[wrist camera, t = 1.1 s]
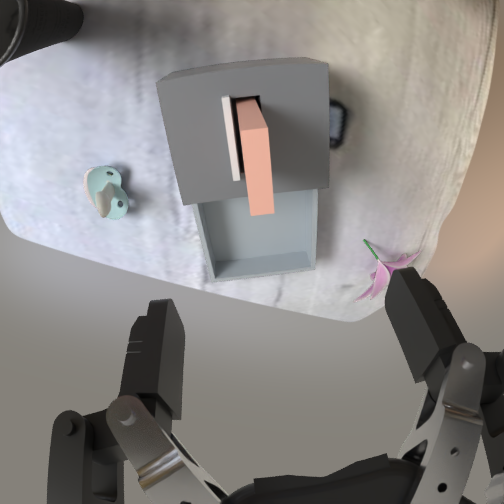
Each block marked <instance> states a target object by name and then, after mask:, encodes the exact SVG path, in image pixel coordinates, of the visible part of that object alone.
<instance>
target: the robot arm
mask: <svg viewBox="0 0 504 504" xmlns="http://www.w3.org/2000/svg"><path fill="white" fill-rule="evenodd" d="M385 309H386V312H387V315H388V317H389V319H390V321H391V324H392V326H393V328H394V331H395V333H396V335H397V338H398V340H399V343H400V345H401V347H402V350H403V352H404V355H405V357H406V360H407V362H408V365H409V368H410V370H411V373H412V375H413V378H414V381H415V383H419V382H421V381H426V384H427V387H426V389H425V392H424V395H423V398H422V401H421V404H420V407H419V410H418V413H417V416H416V419H415V422H414V425H413V427H412V430H411V432H410V434H409V436H408V437H407V438H406V440H405V442H404V443H403V445H402V447H401V449H400V451H399V454H398V456H397V458H388V456H387V453H386V454H382V455H379V456H376V457H372V458H368V459H365V460H361V461H357V462H355V463H353V464H351V465H349V466H347V467H345V468H343V469H341V470H339V471H337V472H334V473H332V474H330V475H328V476H325V477H307V476H294V475H284V476H275V477H267V478H255V479H254V483H252V484H248V485H246V486H244V487H242V488H240V489H238V490H237V491H235V492H233V493H232V494H231V495H228V494H227V493H226V491H225V490H224V489H223V488H222V487H221V486H220V485H219V484H218V483H217V482H216V481H215V480H214V479H213V478H212V477H211V476H210V475H209V474H208V473H207V472H206V471H205V470H204V469H203V468H202V467H201V466H200V465H199V464H198V463H197V462H196V460H195V459H194V458H193V457H192V456H191V454H190V453H189V452H188V451H187V449H186V448H185V447H184V446H183V445H182V443H181V442H180V441H179V440H178V438H177V437H176V436H175V435H174V433H173V432H172V431H171V430H172V420H181V410H182V409H181V408H182V384H183V364H184V349H185V332H184V327H183V324H182V321H181V319H180V317H179V314H178V312H177V310H176V307H175V305H174V302H173V301H172V299H162V300H152V301H150V303H149V307H148V312H147V316H139V317H138V318H137V320H136V322H135V323H134V325H133V326H132V328H131V332H130V337H129V344H128V347H127V354H126V358H125V363H124V369H123V375H122V381H121V387H120V392H119V395H118V397H117V398H116V399H115V400H113V401H112V402H111V404H110V405H109V406H108V408H107V409H105V410H103V411H99V412H96V413H92V414H88V415H85V416H81V415H80V414H79V413H77V412H75V411H72V410H69V411H64V412H62V413H61V414H60V415H58V417H57V418H56V419H55V421H54V424H53V429H52V437H51V446H50V456H49V468H48V485H47V504H124V466H123V465H124V461H125V460H129V461H130V462H131V464H132V465H133V467H134V469H135V470H136V472H137V473H138V476H139V479H138V482H139V484H140V486H141V488H142V489H143V491H144V493H145V494H146V495H147V497H148V498H149V499H150V501H151V502H152V503H153V504H476V503H474V502H472V501H471V500H469V499H467V498H466V497H464V496H463V495H462V494H463V491H464V488H465V486H466V483H467V480H468V477H469V474H470V471H471V468H472V464H473V461H474V458H475V454H476V451H477V447H478V443H479V440H480V435H482V439H483V443H484V446H485V451H486V455H487V459H488V463H489V468H490V473H491V478H492V479H491V481H490V483H489V486H488V487H487V488H486V489H485V492H484V495H485V497H486V498H487V503H486V504H504V395H503V394H504V349H503V351H502V352H482V350H481V349H480V348H479V347H478V346H476V345H474V344H472V343H467V341H466V340H465V338H464V336H463V334H462V332H461V331H460V329H459V327H458V325H457V323H456V321H455V319H454V318H453V316H452V314H451V312H450V310H449V309H447V305H446V304H445V302H444V300H442V297H441V295H440V293H439V291H438V290H437V288H436V287H435V286H434V285H433V284H432V283H430V282H429V281H428V280H427V279H426V278H425V279H421V277H420V276H419V274H418V272H417V271H416V269H415V268H414V267H407V268H401V269H395V270H394V271H393V272H392V275H391V279H390V282H389V286H388V289H387V292H386V296H385Z"/></svg>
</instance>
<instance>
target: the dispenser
mask: <svg viewBox="0 0 504 504" xmlns="http://www.w3.org/2000/svg"><path fill="white" fill-rule="evenodd" d="M156 87H157V92H158V97H159V102H160V107H161V111H162V116H163V121H164V126H165V130H166V135H167V139H168V144H169V148H170V153H171V157H172V161H173V166H174V170H175V174H176V178H177V182H178V186H179V190H180V194H181V198H182V202H183V206H184V205H190V204H197V203H204V202H211V201H218V200H225V199H233V198H241V197H248V191H247V184H246V176H245V169H244V161H243V154H242V146H241V138H240V130H239V122H238V114H237V106H236V98H238V97H247V96H254V98H255V100H256V103H257V105H258V107H259V109H260V111H261V113H262V116H263V118H264V120H265V122H266V125H267V127H268V135H269V147H270V159H271V172H272V185H273V194H274V193H283V192H292V191H302V190H312V189H323V188H329V145H330V120H329V76H328V64H327V63H324V62H321V61H317V60H313V59H310V58H306V57H300V58H277V59H263V60H251V61H241V62H233V63H225V64H218V65H211V66H204V67H198V68H193V69H187V70H182V71H177V72H172V73H170V74H169V75H167V76H166V77H164V78H162V79H161V80H159V81H158V82H156Z"/></svg>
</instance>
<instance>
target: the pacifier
mask: <svg viewBox="0 0 504 504" xmlns="http://www.w3.org/2000/svg"><path fill="white" fill-rule="evenodd" d="M108 171H110V172H112V173H113V175H112V174H108V173H107V172H108ZM121 180H122V179H121V175H120V173H119V172H118V171H117V170H116V169H115V168H113V167H110V166H99V167H96V168H90V169H88V170H87V171H86V173H85V175H84V181H83V184H84V190H85V193H86V196H87V198H88V200H89V201H90V202H91V204H92V205H93V206H94V207H95V208H97V209H98V211H99V214H100V215H101V217H103V218H104V217H106V218H109V219H112V220H116V219H120V218H122V217H123V216H124V215H125V213H126V212H127V209H128V204H129V201H128V197H127V194H126V193H125V191H124V190H123V189H122V188H121ZM118 201H122V202H123V207H120V206H119V205H118Z"/></svg>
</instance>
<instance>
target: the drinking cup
mask: <svg viewBox="0 0 504 504" xmlns="http://www.w3.org/2000/svg"><path fill="white" fill-rule="evenodd" d="M82 23H83V11H82V9H81V8H80V7H79V6H78V5H77V4H74V3H71V2H68V1H65V0H0V67H2V66H3V65H4V64H5V63H7V62H9V61H11V60H14V59H16V58H18V57H21V56H23V55H26V54H28V53H31V52H34V51H37V50H39V49H42V48H45V47H48V46H51V45H54V44H57V43H60V42H63V41H67V40H69V39H71V38H72V37H73V36H75V35H76V34H77V32H78V31H79V30H80V28H81V26H82Z"/></svg>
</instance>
